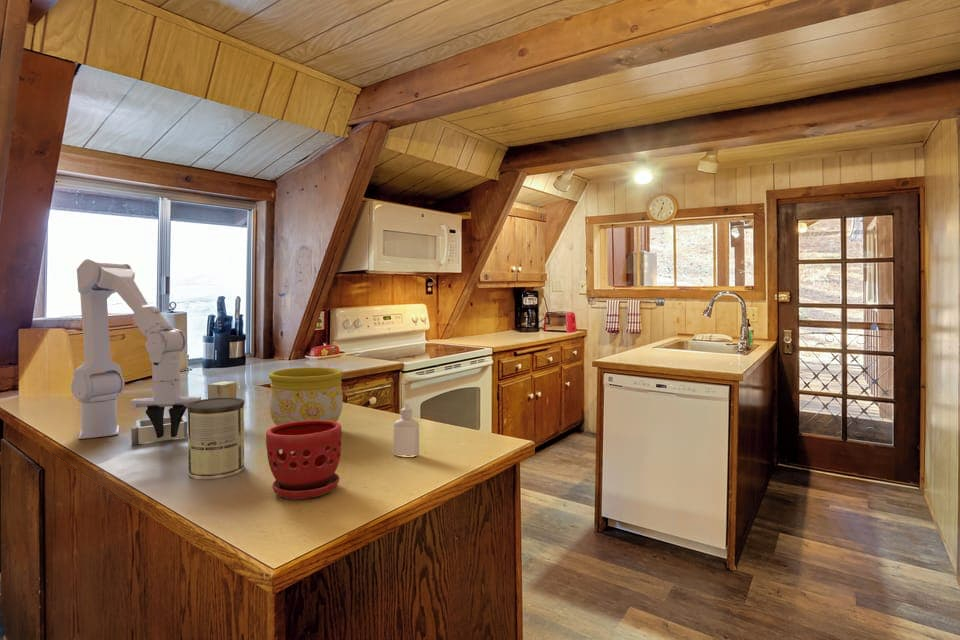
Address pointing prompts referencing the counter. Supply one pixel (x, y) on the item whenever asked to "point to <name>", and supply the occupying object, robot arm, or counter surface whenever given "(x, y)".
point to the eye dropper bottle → (406, 434)
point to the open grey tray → (165, 421)
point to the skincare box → (222, 390)
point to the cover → (154, 434)
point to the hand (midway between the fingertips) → (167, 436)
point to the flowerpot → (305, 394)
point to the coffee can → (216, 437)
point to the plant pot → (304, 457)
